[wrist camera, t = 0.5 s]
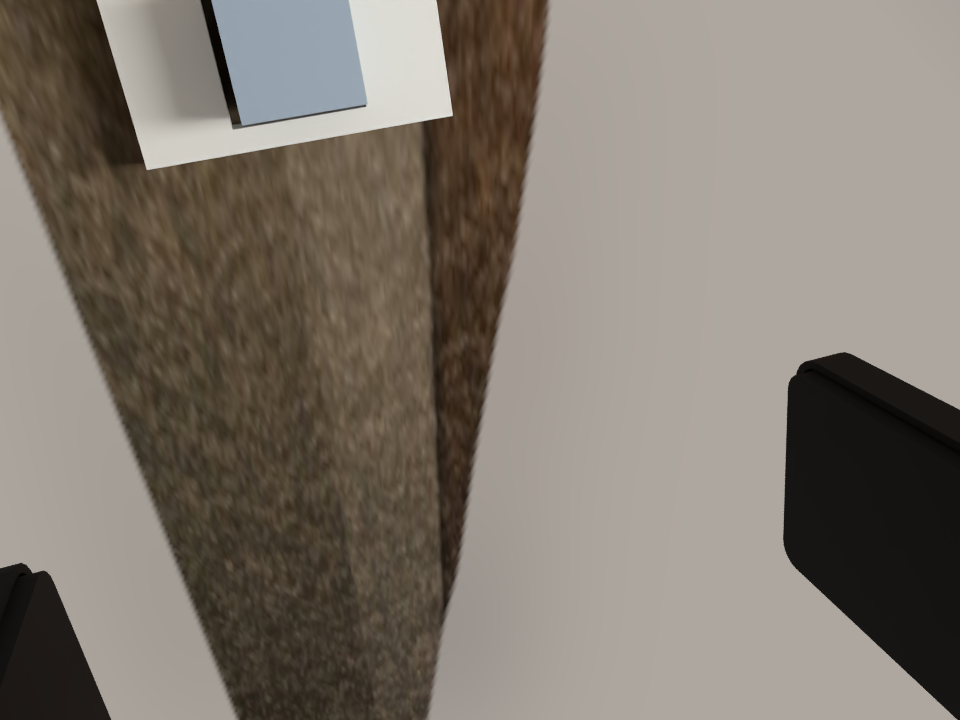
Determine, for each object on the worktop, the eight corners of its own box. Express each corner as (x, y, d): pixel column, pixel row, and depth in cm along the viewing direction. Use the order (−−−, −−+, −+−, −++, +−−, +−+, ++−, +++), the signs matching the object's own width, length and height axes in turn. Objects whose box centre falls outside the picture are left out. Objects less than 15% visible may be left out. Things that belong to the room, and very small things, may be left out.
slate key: (209, -9, 29) (207, -15, 26) (330, -26, 30) (342, -33, 27) (240, 116, 31) (242, 125, 28) (353, 97, 32) (367, 104, 29)
